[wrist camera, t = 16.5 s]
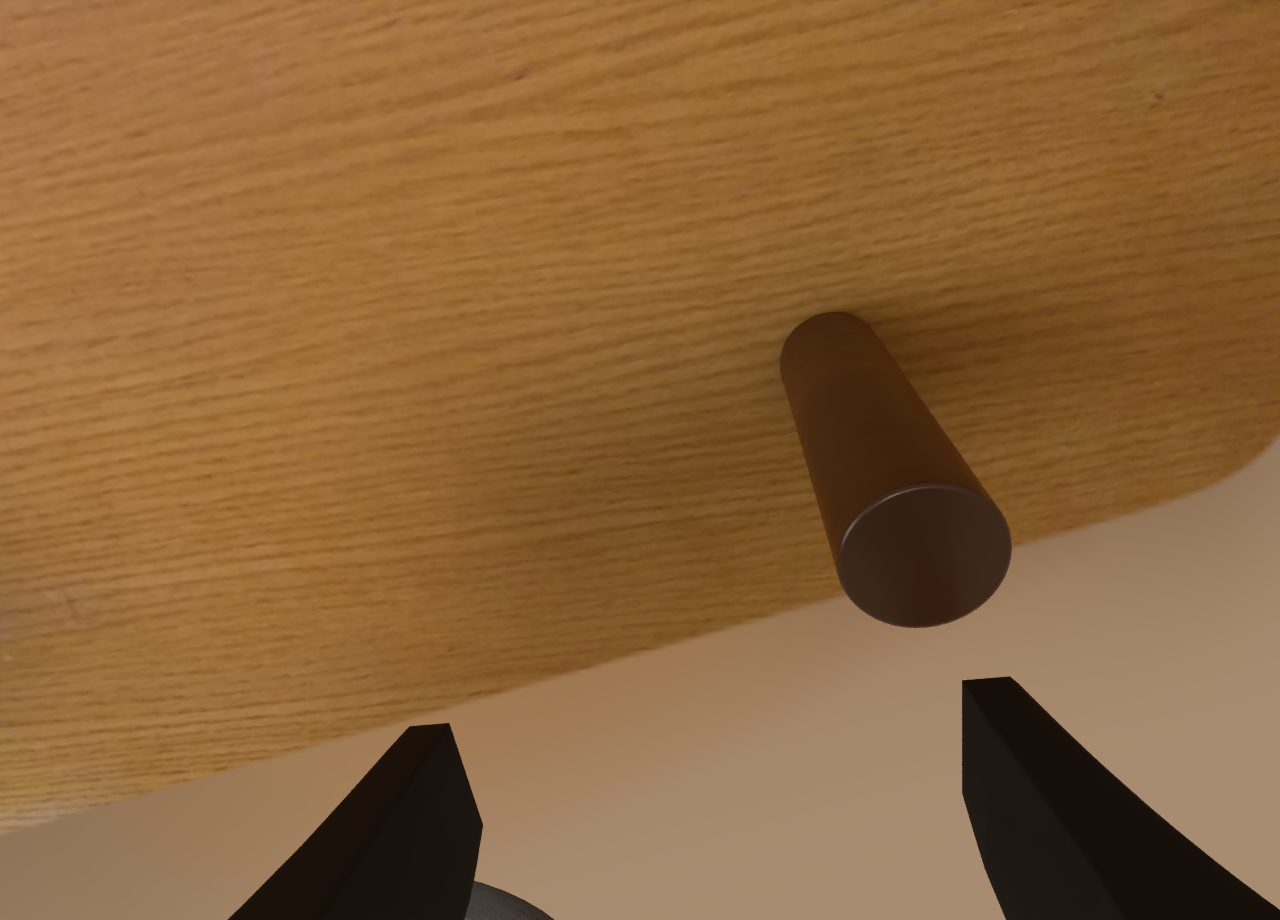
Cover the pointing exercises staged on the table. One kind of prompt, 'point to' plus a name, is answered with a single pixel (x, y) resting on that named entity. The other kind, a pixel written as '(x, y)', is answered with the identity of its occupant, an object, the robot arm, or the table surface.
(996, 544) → the brown wooden dowel
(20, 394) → the table surface
